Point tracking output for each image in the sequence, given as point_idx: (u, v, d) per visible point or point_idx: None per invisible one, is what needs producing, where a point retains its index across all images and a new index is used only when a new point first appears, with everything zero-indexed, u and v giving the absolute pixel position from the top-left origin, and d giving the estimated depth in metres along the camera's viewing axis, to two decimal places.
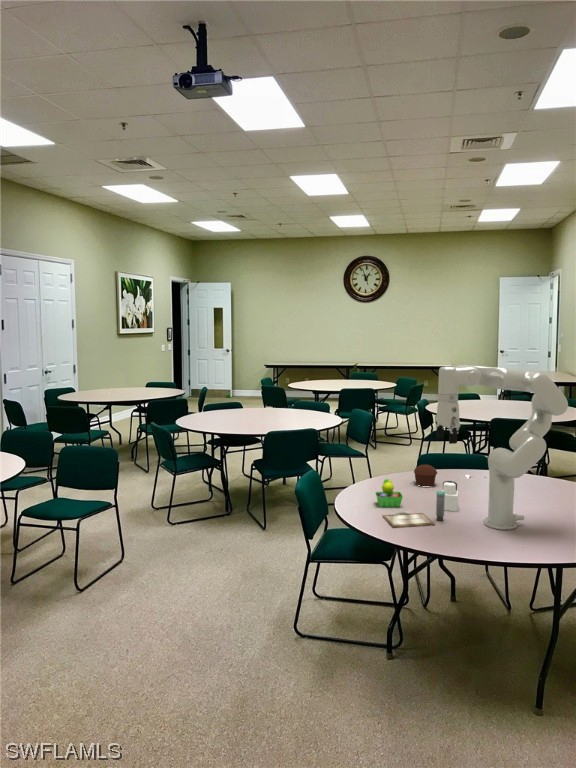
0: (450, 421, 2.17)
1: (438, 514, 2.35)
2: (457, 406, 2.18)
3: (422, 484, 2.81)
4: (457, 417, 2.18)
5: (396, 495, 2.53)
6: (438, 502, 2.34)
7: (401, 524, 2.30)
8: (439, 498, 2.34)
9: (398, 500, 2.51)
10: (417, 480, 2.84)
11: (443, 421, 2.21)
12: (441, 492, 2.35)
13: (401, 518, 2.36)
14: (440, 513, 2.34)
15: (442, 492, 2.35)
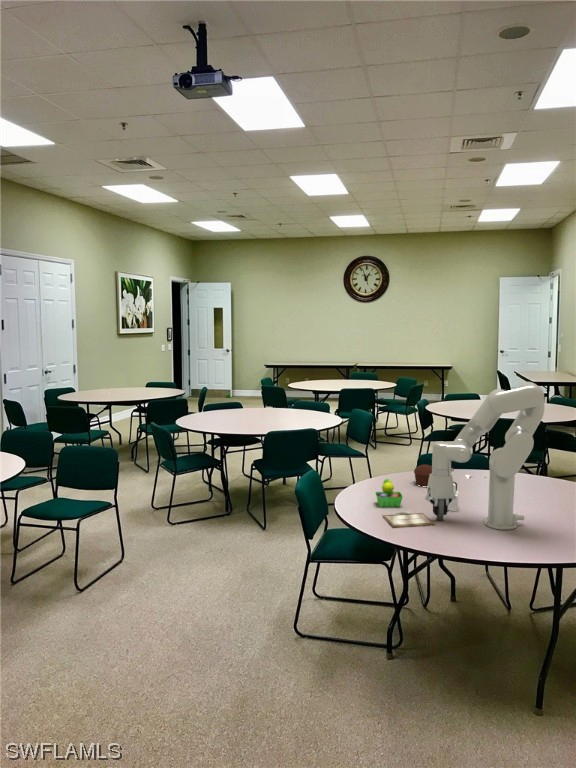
0: None
1: (438, 514, 2.35)
2: None
3: (422, 484, 2.81)
4: None
5: (396, 495, 2.53)
6: (438, 502, 2.34)
7: (401, 524, 2.30)
8: None
9: (398, 500, 2.51)
10: (417, 480, 2.83)
11: (445, 494, 2.33)
12: None
13: (401, 518, 2.36)
14: (440, 513, 2.34)
15: None
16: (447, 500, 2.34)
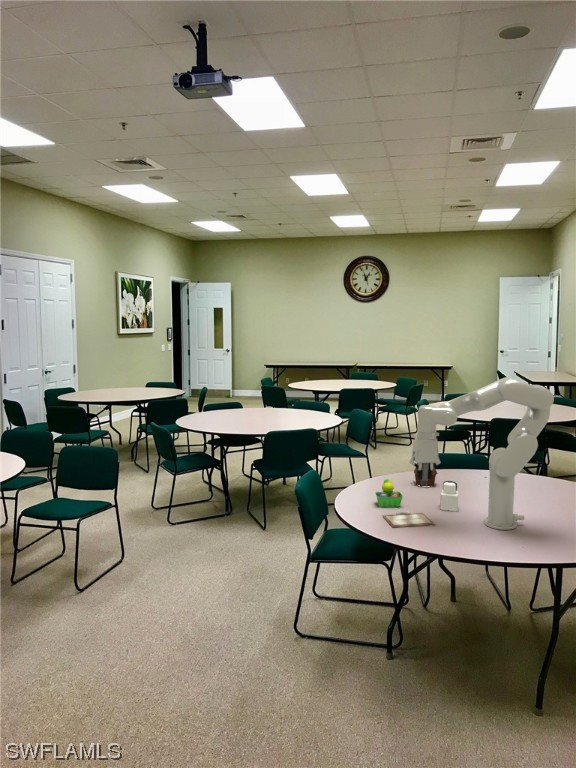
0: None
1: (422, 479, 2.33)
2: None
3: None
4: None
5: (396, 495, 2.53)
6: (422, 466, 2.33)
7: (401, 524, 2.30)
8: None
9: (398, 500, 2.51)
10: (417, 480, 2.83)
11: (430, 458, 2.31)
12: None
13: (401, 518, 2.36)
14: (424, 477, 2.33)
15: None
16: (431, 464, 2.32)
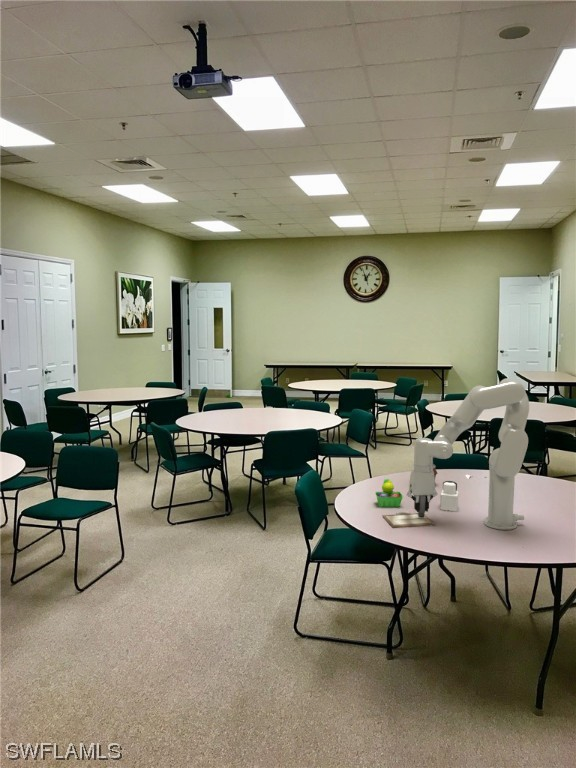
0: None
1: (419, 511, 2.35)
2: None
3: None
4: None
5: (396, 495, 2.53)
6: (419, 498, 2.34)
7: (401, 524, 2.30)
8: None
9: (398, 500, 2.51)
10: None
11: (427, 490, 2.33)
12: None
13: (401, 518, 2.36)
14: (421, 509, 2.34)
15: None
16: (428, 497, 2.34)
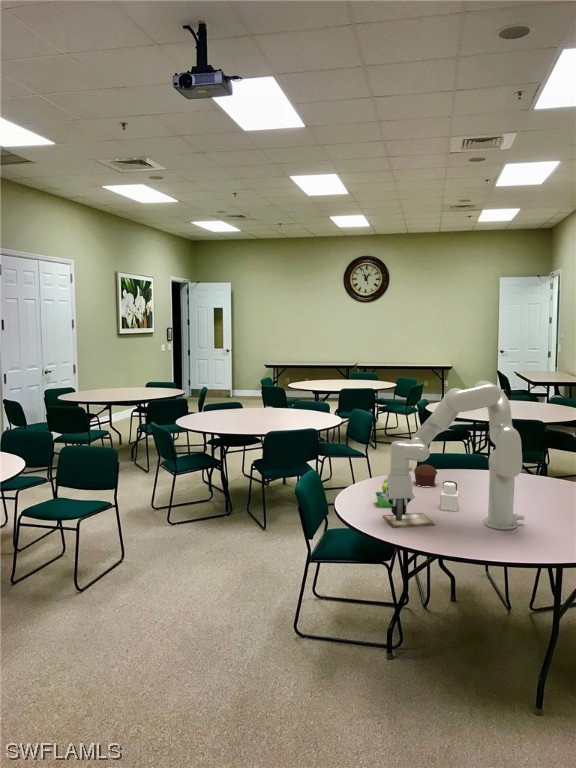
0: None
1: (397, 514, 2.33)
2: None
3: (422, 484, 2.81)
4: None
5: None
6: (396, 501, 2.33)
7: (401, 524, 2.30)
8: None
9: None
10: (417, 480, 2.83)
11: (403, 494, 2.31)
12: None
13: None
14: (398, 512, 2.33)
15: None
16: (405, 500, 2.33)
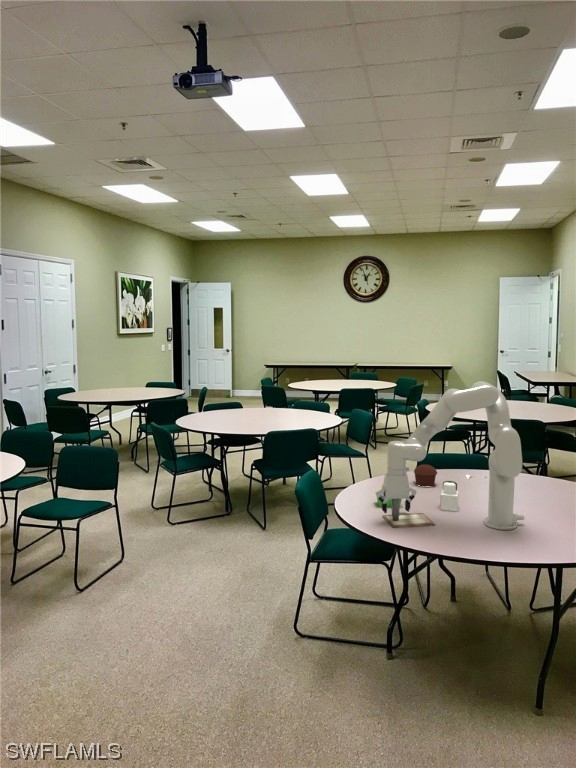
0: None
1: (393, 515, 2.33)
2: None
3: (422, 484, 2.81)
4: None
5: None
6: (393, 502, 2.32)
7: (401, 524, 2.30)
8: None
9: None
10: (417, 480, 2.83)
11: (400, 494, 2.31)
12: None
13: (401, 518, 2.36)
14: (395, 513, 2.33)
15: None
16: (407, 498, 2.33)
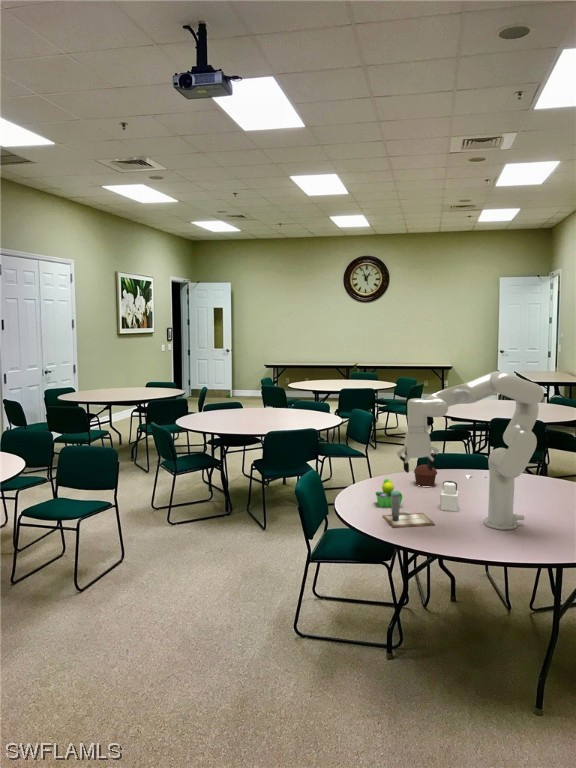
0: None
1: (393, 515, 2.33)
2: None
3: (422, 484, 2.81)
4: None
5: None
6: (393, 502, 2.32)
7: (401, 524, 2.30)
8: (394, 498, 2.32)
9: None
10: (417, 480, 2.84)
11: (422, 452, 2.25)
12: (396, 492, 2.33)
13: (401, 518, 2.36)
14: (395, 513, 2.33)
15: (397, 492, 2.33)
16: (429, 456, 2.27)
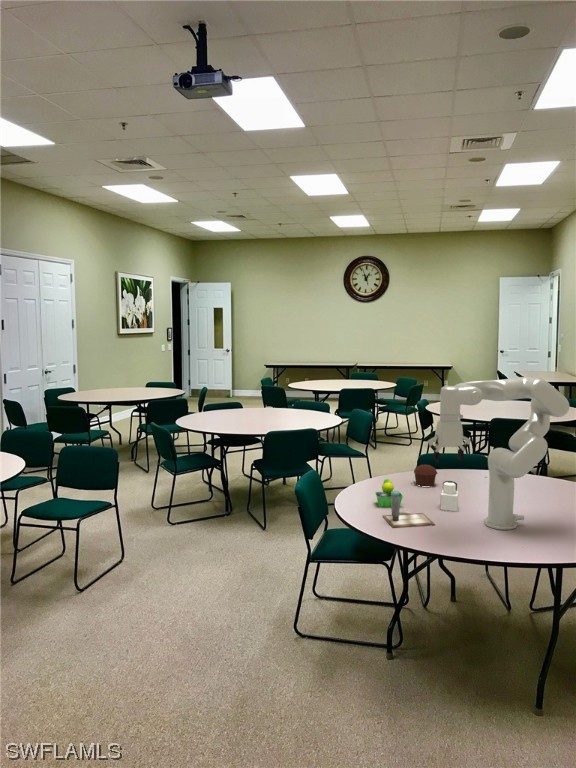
0: None
1: (393, 515, 2.33)
2: None
3: (422, 484, 2.81)
4: None
5: None
6: (393, 502, 2.32)
7: (401, 524, 2.30)
8: (394, 498, 2.32)
9: None
10: (417, 480, 2.83)
11: (454, 441, 2.19)
12: (396, 492, 2.33)
13: (401, 518, 2.36)
14: (395, 513, 2.33)
15: (397, 492, 2.33)
16: (461, 446, 2.20)
